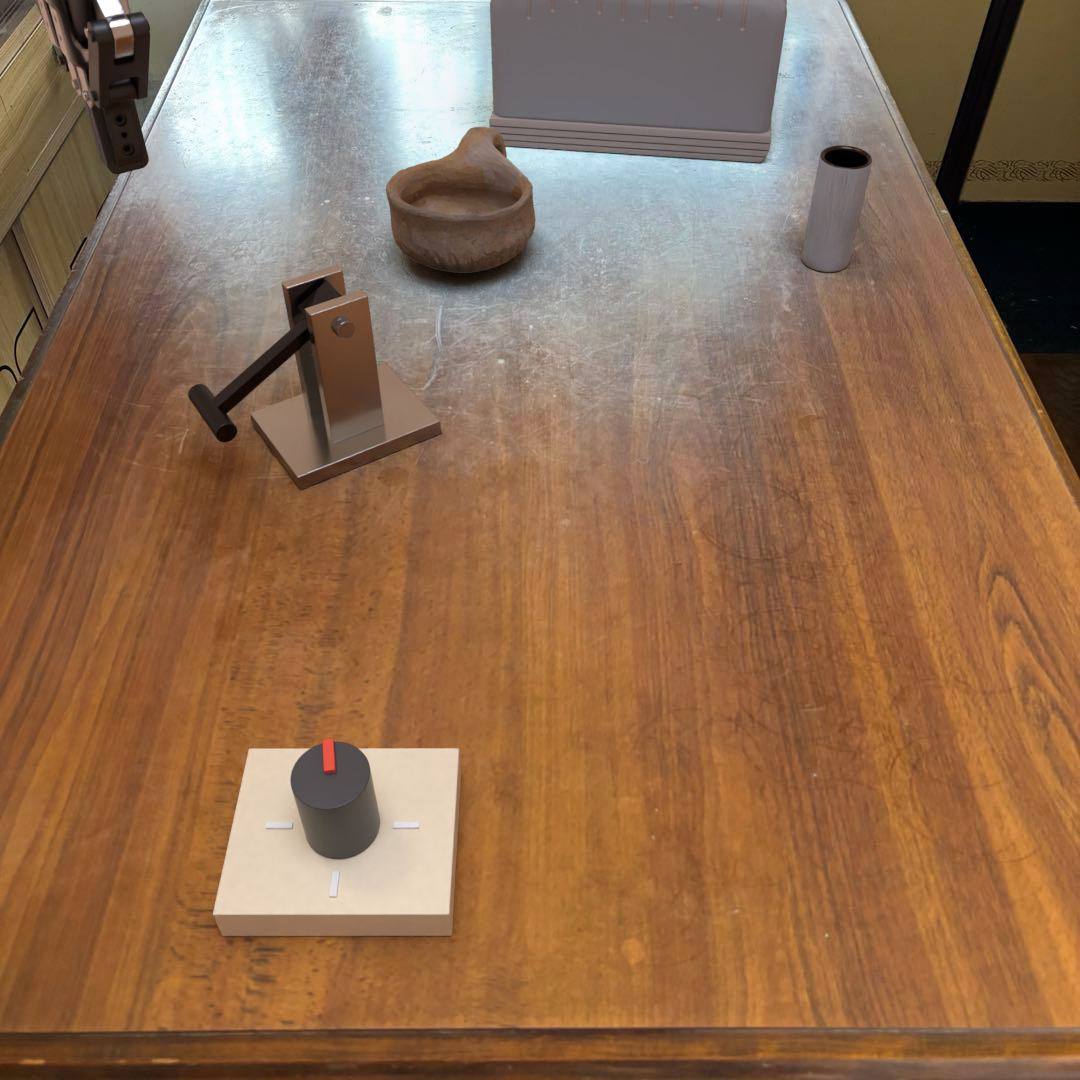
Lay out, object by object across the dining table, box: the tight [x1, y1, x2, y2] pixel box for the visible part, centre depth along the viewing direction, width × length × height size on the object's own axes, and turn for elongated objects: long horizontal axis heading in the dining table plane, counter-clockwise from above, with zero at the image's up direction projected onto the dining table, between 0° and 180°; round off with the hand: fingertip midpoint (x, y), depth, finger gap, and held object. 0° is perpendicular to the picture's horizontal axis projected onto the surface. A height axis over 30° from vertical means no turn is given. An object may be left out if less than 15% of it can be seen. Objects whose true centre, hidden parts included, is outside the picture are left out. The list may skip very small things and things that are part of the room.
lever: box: [187, 281, 341, 443], centre depth 79 cm, size 13×6×2 cm, turn 123°
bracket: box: [249, 264, 442, 491], centre depth 82 cm, size 12×9×13 cm
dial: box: [290, 738, 380, 859], centre depth 57 cm, size 4×4×5 cm
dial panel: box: [212, 747, 462, 937], centre depth 60 cm, size 12×10×3 cm
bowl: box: [385, 126, 536, 274], centre depth 103 cm, size 18×14×10 cm
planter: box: [800, 144, 873, 273], centre depth 101 cm, size 4×4×10 cm
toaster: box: [488, 0, 788, 163], centre depth 126 cm, size 30×36×18 cm
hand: (126, 165), depth 60 cm, fingers closed
